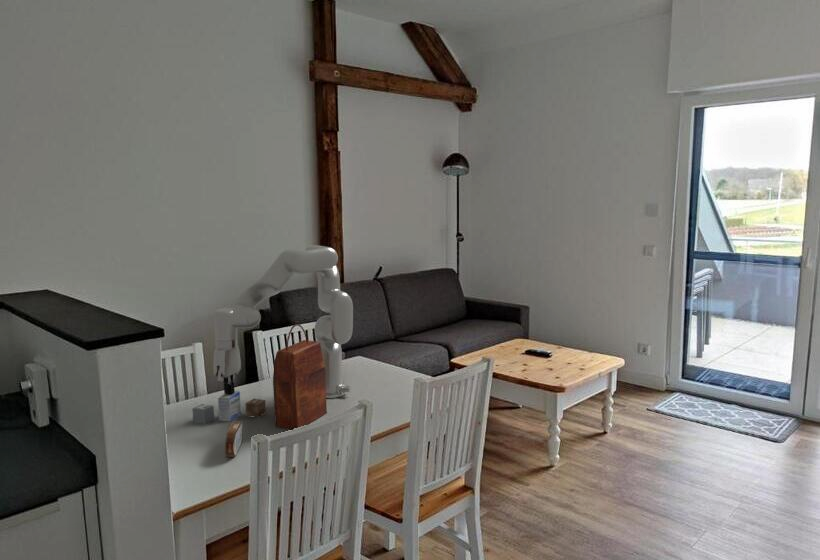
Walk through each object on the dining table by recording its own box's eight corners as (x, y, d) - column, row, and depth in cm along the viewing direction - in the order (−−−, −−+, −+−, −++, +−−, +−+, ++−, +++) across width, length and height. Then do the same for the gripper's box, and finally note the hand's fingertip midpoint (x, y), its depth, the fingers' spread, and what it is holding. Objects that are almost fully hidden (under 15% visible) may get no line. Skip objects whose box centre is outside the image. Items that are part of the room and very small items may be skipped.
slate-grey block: (214, 419, 209) (213, 405, 209) (204, 424, 205) (204, 409, 204) (202, 417, 211) (202, 403, 210) (193, 422, 206) (192, 408, 206)
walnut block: (265, 413, 215) (265, 399, 214) (257, 418, 210) (257, 404, 210) (254, 411, 217) (253, 397, 216) (246, 416, 212) (245, 402, 211)
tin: (235, 441, 190) (233, 416, 189) (245, 441, 190) (243, 416, 189) (224, 462, 175) (223, 435, 174) (235, 461, 176) (234, 434, 174)
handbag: (272, 427, 202) (267, 328, 197) (305, 407, 220) (301, 316, 214) (297, 432, 198) (292, 331, 192) (329, 412, 215) (325, 319, 210)
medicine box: (230, 422, 206) (229, 398, 205) (218, 421, 207) (217, 397, 206) (241, 413, 214) (240, 391, 213) (230, 413, 215) (228, 390, 214)
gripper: (231, 337, 215) (233, 386, 218) (203, 347, 201) (207, 399, 204) (248, 339, 213) (250, 388, 215) (222, 349, 199) (225, 401, 201)
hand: (229, 393), depth 210 cm, fingers closed
